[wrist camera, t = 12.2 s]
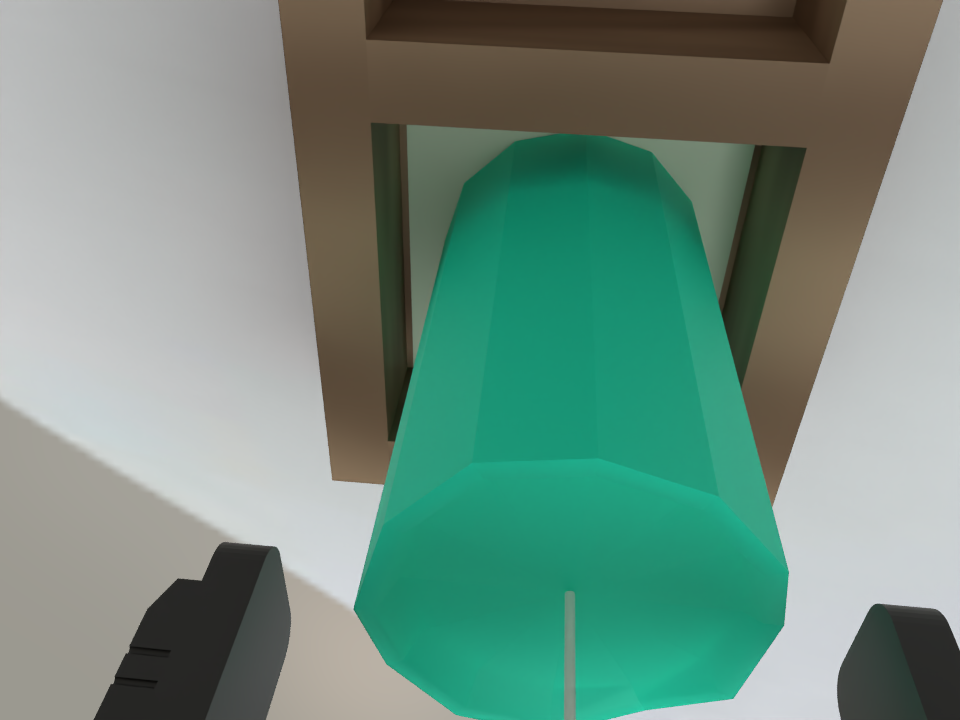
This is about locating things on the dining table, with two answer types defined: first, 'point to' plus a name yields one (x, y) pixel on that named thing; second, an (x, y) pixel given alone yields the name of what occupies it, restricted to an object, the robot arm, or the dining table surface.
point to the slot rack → (601, 112)
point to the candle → (573, 457)
